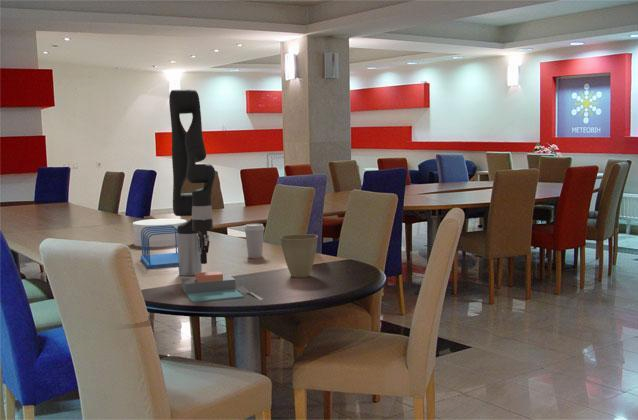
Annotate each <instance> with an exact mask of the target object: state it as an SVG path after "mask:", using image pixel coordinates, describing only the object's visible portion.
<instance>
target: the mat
mask: <svg viewBox="0 0 638 420" xmlns="http://www.w3.org/2000/svg"><path fill="white" fill-rule="evenodd" d="M185 295H186V297H187V298H188V299H189V300H190V302H191V303H201V302H202V303H203V302H209V301H210V302H212V301H221V300H232V299H242V298H244V295H243V294H242V293H241V292H240V291H239V290H238V289H237V288H235V289H231V290H221V291H210V292H199V293H188V294H185Z"/></svg>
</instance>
